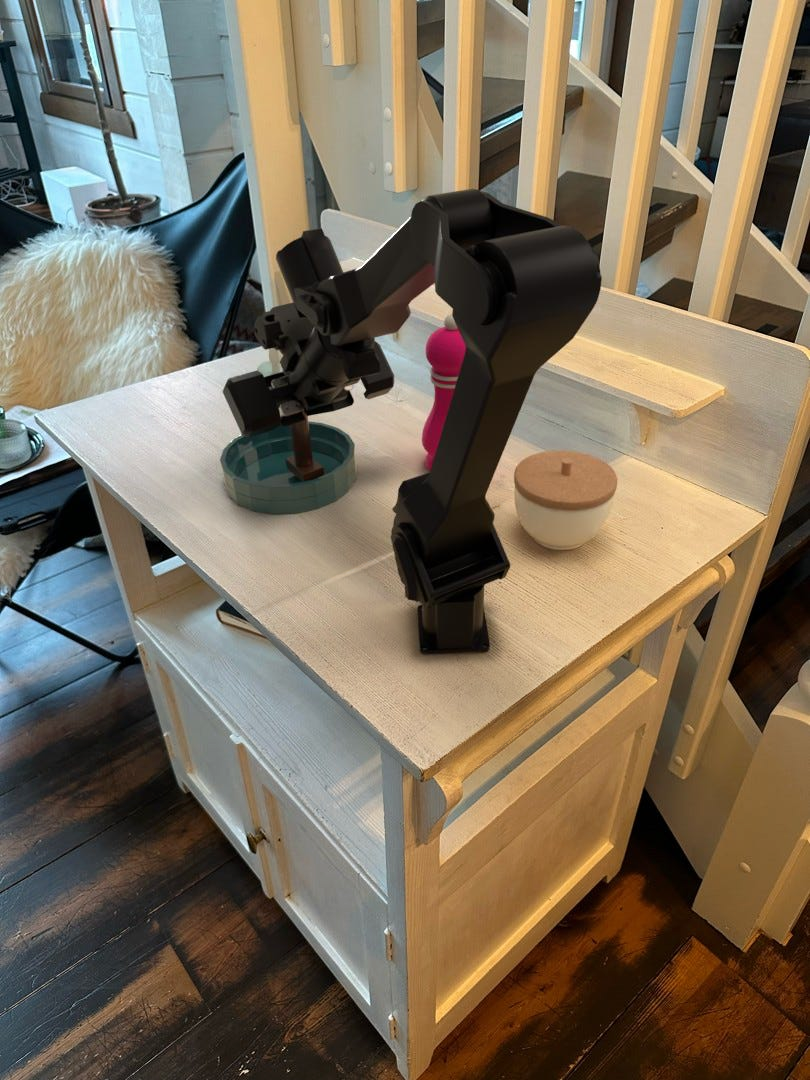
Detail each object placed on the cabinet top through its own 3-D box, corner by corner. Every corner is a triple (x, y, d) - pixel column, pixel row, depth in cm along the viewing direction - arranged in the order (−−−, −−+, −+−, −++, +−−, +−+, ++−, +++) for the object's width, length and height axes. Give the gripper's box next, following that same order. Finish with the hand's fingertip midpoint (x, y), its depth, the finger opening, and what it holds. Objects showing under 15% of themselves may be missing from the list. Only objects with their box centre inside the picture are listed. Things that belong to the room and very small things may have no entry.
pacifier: (267, 398, 115) (301, 385, 118) (260, 359, 112) (295, 347, 114) (245, 382, 120) (277, 371, 123) (237, 345, 116) (271, 334, 119)
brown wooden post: (324, 476, 93) (312, 366, 84) (304, 484, 92) (290, 372, 83) (306, 461, 96) (292, 353, 88) (286, 467, 95) (270, 359, 86)
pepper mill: (475, 486, 93) (480, 327, 81) (417, 481, 94) (414, 324, 83) (482, 457, 99) (487, 305, 87) (427, 452, 100) (425, 302, 88)
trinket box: (581, 576, 78) (591, 500, 73) (492, 541, 84) (495, 467, 78) (624, 526, 85) (636, 454, 80) (539, 497, 90) (545, 427, 85)
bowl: (355, 517, 88) (352, 484, 86) (216, 522, 88) (209, 489, 86) (358, 449, 101) (356, 418, 99) (237, 453, 101) (232, 423, 99)
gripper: (375, 267, 81) (332, 337, 95) (213, 305, 73) (192, 375, 87) (419, 360, 81) (370, 416, 95) (260, 408, 72) (231, 462, 86)
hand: (293, 415), depth 91 cm, fingers closed on brown wooden post, 2 cm apart
